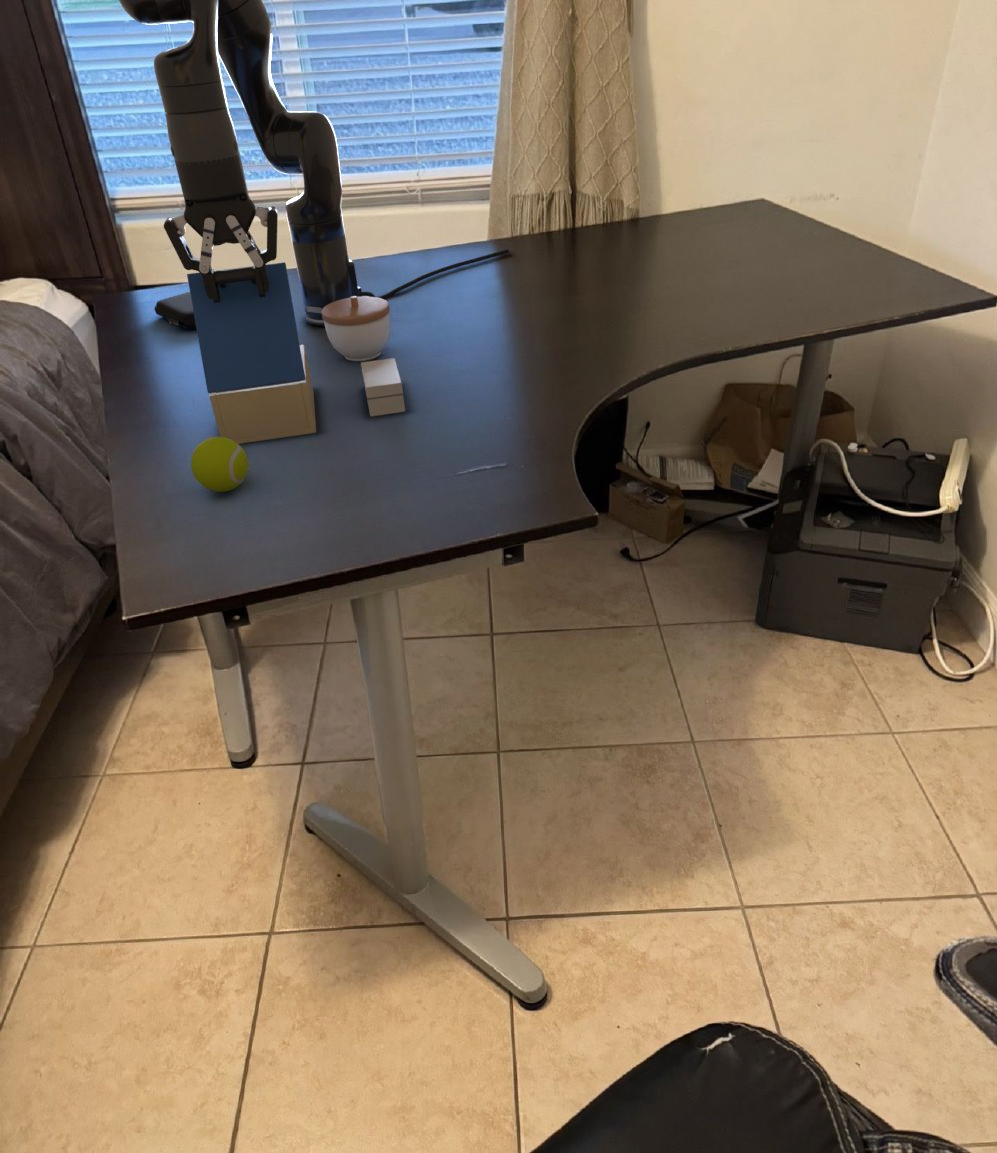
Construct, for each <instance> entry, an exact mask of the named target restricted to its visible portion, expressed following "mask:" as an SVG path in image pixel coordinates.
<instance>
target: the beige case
mask: <svg viewBox="0 0 997 1153" xmlns="http://www.w3.org/2000/svg"><path fill="white" fill-rule="evenodd" d="M360 367H361V375H362V380H363V386H364V392H365V396H366V397H365V398H366V401H367V406H368V412H369V416H370V418H371V417H377V416H378V417H379V416H384V415H391V414H398V413H399V414H400V413H406V405H405V398H404V390H403V384H402V379H401V376H400V373H399V372H400V371H399V369H398V365H397V361H396V359H395V357H391V358H385V359H377V360H368V361H360Z"/></svg>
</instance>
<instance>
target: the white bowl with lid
mask: <svg viewBox="0 0 997 1153" xmlns="http://www.w3.org/2000/svg"><path fill="white" fill-rule="evenodd" d="M390 312H391V310H390V303H389V302H388V301H387V300H386V299H381V298H377V297H369V296H362V297H357V296H351V297H350V298H346V299H342V300H338V301H335V302H332V303H330V304H328V305H327V306H325V307H324V308H323V309H322V312H321V313H322V318H323V320H324V325H325V326H324V327H325V333H326V335H327V338H328V340H329V343H330V344H331V346H332V347H333V348H334V350H335V351H337V353H339V354H340V355H341V356H343V358H344V359H345V360H347V361H351V362H367V361H371V360H374V359H375V358H378V357H379V356H381V354H382V352H383V350H384V348H386V346H387V344H388V342H389V340H390V336H391V328H392V326H391V313H390Z"/></svg>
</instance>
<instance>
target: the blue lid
mask: <svg viewBox="0 0 997 1153" xmlns="http://www.w3.org/2000/svg"><path fill="white" fill-rule="evenodd" d="M253 267H254V265H250V266H244V267H243V266H242V267H235V268H225V269H216V270H214V271H213V275H214V280H215V283H216V284H218V288H219V292H220V297H221V300H220V302H218V303H214V300H213V298H211V299H209V297H208V296H207V294H206V290H205V286H204V282H203V278H202V275H201V273H200V272H192V273H186V278H187V283H188V288H189V292H190V295H191V300H192V306H193V312H194V317H195V323H196V329H195V330H196V335H197V338H198V345H199V346H198V347H199V351H200V357H201V363H202V367H203V374H204V380H205V386H206V390H207V393H208V394H210V393H216V392H223V391H230V390H238V389H245V388H252V387H260V386H267V385H274V384H282V383H289V382H297V381H304V380H306V379H305V373H304V367H303V361H302V356H301V350H300V345H301V344H300V338H299V333H298V327H297V321H296V315H295V309H294V304H293V299H292V298H293V297H292V293H291V292H292V291H291V287H290V280H289V273H288V269H287V264H286V262H277V263H275V262H274V263H266V265H265V268H266V273H267V277H268V282H269V289H268V292H265V297H259V293H258V288H257V284H256V279H255V275H254V270H253Z"/></svg>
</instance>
